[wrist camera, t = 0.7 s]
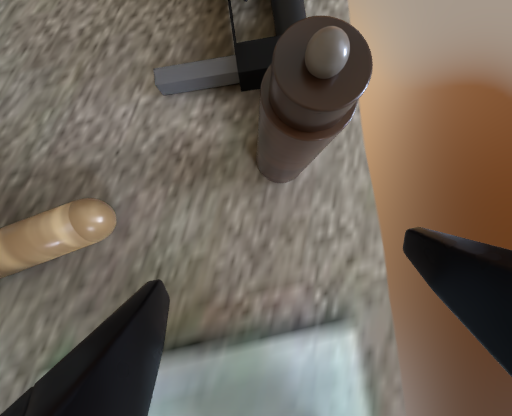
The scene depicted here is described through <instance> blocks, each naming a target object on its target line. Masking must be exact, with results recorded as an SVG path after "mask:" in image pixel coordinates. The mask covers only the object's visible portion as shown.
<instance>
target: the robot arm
mask: <svg viewBox="0 0 512 416" xmlns="http://www.w3.org/2000/svg"><path fill="white" fill-rule="evenodd" d="M403 251H404V253H405V255H406V256H407V257H408V259H409V260H410V261H411V262H412V264H413V265H414V267H415V268H416V269H417V271H418V272H419V273H420V275H421V276H422V277H423V278H424V280H425V281H426V282H427V284H428V285H429V286H430V287H431V289H432V290H433V291H434V292H435V293H436V294H437V296H438V297H439V298H440V299H441V300H442V301H443V302H444V303H445V304H446V306H447V307H448V308H449V309H450V310H451V311H452V312H453V313H454V314H455V315H456V316H457V317H458V319H460V321H461V322H462V323H463V324H464V325H465V326H466V327H467V329H468V330H469V331H470V332H471V333H472V334H473V335H474V336H475V337H476V338H477V339H478V341H479V342H480V343H481V344H482V345H483V346H484V347H485V348H486V349H487V350H488V352H489V353H490V354H491V355H492V356H493V357H494V358H495V359H496V360H497V361H498V362H499V364H501V366H502V367H503V368H504V369H505V370H506V371H507V372H508V373H509V374H510V376H511V377H512V250H508V249H504V248H501V247H497V246H492V245H489V244H485V243H481V242H477V241H473V240H469V239H465V238H461V237H457V236H453V235H449V234H445V233H441V232H437V231H433V230H429V229H425V228H421V227H416V228H412V229H408V230H407V231H406V233H405V238H404V244H403ZM169 303H170V299H169V295H168V293H167V291H166V288H165V286H164V284H163V282H162V281H161V280H159V279H158V280H153V281H149V282H147V283H146V284H145V285H144V286H142V287H141V288H140V289H139V290H138V291H137V292H136V293H135V294H134V295H133V296H131V297H130V298H129V299H128V300H127V301H126V302H125V303H124V304H123V305H121V306H120V307H119V308H118V309H117V310H116V311H115V312H114V313H113V314H112V315H110V316H109V317H108V318H107V319H106V320H105V321H104V322H103V323H102V324H100V325H99V326H98V327H97V328H96V329H95V330H94V331H93V332H92V333H91V334H89V335H88V336H87V337H86V338H85V339H84V340H83V341H82V342H81V343H79V344H78V345H77V346H76V347H75V348H74V349H73V350H72V351H71V352H70V353H68V354H67V355H66V356H65V357H64V358H63V359H62V360H61V361H60V362H58V363H57V364H56V365H55V366H54V367H53V368H52V369H51V370H50V371H48V372H47V373H46V374H45V375H44V376H43V377H42V378H41V379H40V380H39V381H37V382H36V383H35V385H34V387H31V388H30V389H28V390H27V391H26V392H25V393H24V394H23V395H22V396H21V397H20V398H19V399H18V400H16V401H15V402H14V403H13V404H12V405H11V406H10V407H9V408H7V409H6V410H5V411H4V412H3V413H2V414H1V415H0V416H148V411H149V407H150V403H151V399H152V394H153V390H154V386H155V382H156V377H157V373H158V369H159V365H160V360H161V356H162V352H163V347H164V341H165V334H166V326H167V318H168V311H169Z"/></svg>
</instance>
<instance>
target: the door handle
mask: <svg viewBox="0 0 512 416" xmlns="http://www.w3.org/2000/svg"><path fill="white" fill-rule="evenodd" d="M244 1H246V2H247V1H248V0H244ZM271 3H272V10H273V16H274V23H275V29H276V36H274V37H268V38H263V39H257V40H251V41H245V42H239V43H236V36H235V29H234V22H233V15H232V8H231V1H230V0H228V5H229V12H230V19H231V26H232V33H233V40H234V49H235V55H232V56H226V57H220V58H214V59H208V60H202V61H196V62H190V63H184V64H178V65H173V66H167V67H161V68H155V69H154V78H155V85H156V87H157V88H158V89H159V90H160V92H161V93H162V94H163V95H170V94H176V93H182V92H188V91H194V90H200V89H206V88H212V87H218V86H224V85H230V84H236V83H240V87H241V92H242V91H248V90H254V89H260V88H261V83H262V79H263V77H264V74H265V72H266V71H267V69H268V67H269V66H270V65H271V64H272V58H273V52H274V49H275V46H276V44H277V42H278V40H279V38H280V37H281V36H282V34H283V33H284V32H285V31H286V30H287V29H288V28H289V27H290V26H291V25H293V24H294V23H296V22H298V21H300V20H302V19H305V18H306V12H305V6H304V0H271Z"/></svg>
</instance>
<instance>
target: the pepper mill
mask: <svg viewBox="0 0 512 416" xmlns="http://www.w3.org/2000/svg"><path fill="white" fill-rule="evenodd" d="M371 74H372V56H371V51H370V49H369V46H368V44H367V42H366V40H365V39H364V37H363V36H362V35H361V34H360V32H359V31H358V30H356V29H355V28H354V27H353V26H352V25H350V24H349V23H347V22H345V21H343V20H341V19H338V18H335V17H330V16H312V17H308V18H305V19H302V20H300V21H298V22H296V23H294V24H293V25H291V26H290V27H289V28H288V29H287V30H286V31H285V32H284V33H283V34H282V36H281V37H280V38H279V40H278V42H277V44H276V46H275V49H274V52H273V58H272V64H271V65H270V66H269V67H268V69H267V71H266V72H265V74H264V77H263V79H262V83H261V90H260V107H259V124H258V142H257V165H258V168H259V170H260V172H261V173H262V174H263V176H265V177H266V178H267V179H269V180H270V181H273V182H277V183H284V182H289V181H291V180H293V179H295V178H296V177H297V176H298V175H299V174H300V173H301V172H302V171H303V170H304V169H305V168H306V167H307V166H308V165H309V164H310V163H311V162H312V161H313V160H314V159H315V158H316V157H317V155H318V154H319V153H320V152H321V151H322V150H323V149H324V148H325V147H326V146H327V145H328V144H329V143H330V142H331V141H332V140H333V139H334V138H335V137H336V136H337V135H338V134H339V133H340V132H341V131H342V130H343V129H344V128H345V127H346V126H347V124H348V123H349V122H350V120H351V119H352V117H353V115H354V113H355V110H356V106H357V101H358V99H359V98H360V97H361V95H362V94H363V93H364V91H365V90H366V88H367V86H368V84H369V81H370V79H371Z"/></svg>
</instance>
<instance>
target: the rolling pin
mask: <svg viewBox="0 0 512 416" xmlns="http://www.w3.org/2000/svg"><path fill="white" fill-rule="evenodd" d="M115 226H116V214H115V212H114V210H113V209H112V208H111V206H109V205H108V204H107V203H105V202H103V201H101V200H98V199H93V198H83V199H79V200H75V201H73V202H70V203H67V204H64V205H62V206H59V207H56V208H53V209H51V210H48V211H45V212H43V213H40V214H37V215H34V216H32V217H29V218H26V219H23V220H21V221H18V222H15V223H13V224H10V225H7V226H4V227H2V228H0V279H1V278H4V277H6V276H9V275H12V274H14V273H17V272H20V271H22V270H25V269H28V268H30V267H33V266H36V265H38V264H41V263H44V262H46V261H49V260H52V259H54V258H57V257H60V256H62V255H65V254H68V253H70V252H73V251H75V250H78V249H81V248H83V247H86V246H89V245H91V244H94V243H97V242H99V241H101V240H104V239H105V238H107V237H108V236H109V235H110V234H111V233H112V232H113V230H114V228H115Z"/></svg>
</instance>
